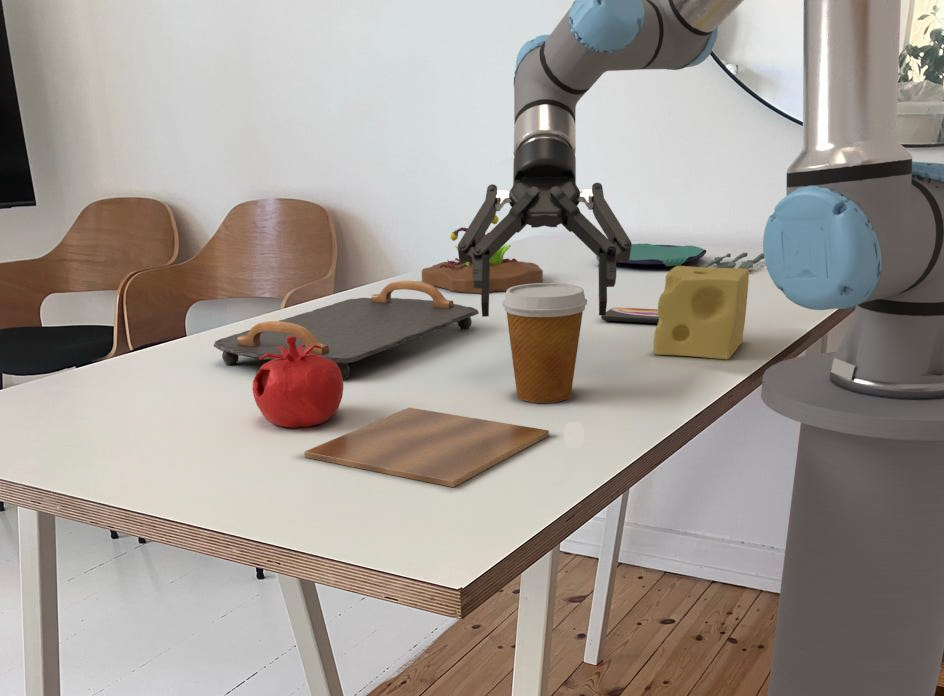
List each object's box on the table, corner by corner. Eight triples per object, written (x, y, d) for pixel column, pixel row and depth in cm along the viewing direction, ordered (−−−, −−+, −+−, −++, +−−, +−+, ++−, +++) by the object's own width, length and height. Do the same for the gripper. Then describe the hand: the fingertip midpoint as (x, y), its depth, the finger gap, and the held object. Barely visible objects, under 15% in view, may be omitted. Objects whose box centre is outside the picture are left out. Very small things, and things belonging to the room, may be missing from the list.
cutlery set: (622, 252, 220) (622, 240, 219) (770, 261, 207) (771, 248, 206) (581, 268, 205) (581, 255, 204) (738, 278, 192) (739, 264, 191)
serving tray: (364, 313, 173) (361, 272, 170) (493, 325, 162) (492, 282, 160) (196, 369, 144) (189, 320, 141) (340, 388, 133) (336, 336, 130)
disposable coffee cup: (593, 388, 130) (596, 283, 125) (573, 410, 122) (576, 299, 117) (516, 383, 133) (516, 280, 128) (492, 404, 125) (491, 296, 120)
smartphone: (612, 306, 168) (710, 311, 163) (612, 312, 169) (710, 317, 164) (599, 315, 162) (700, 320, 157) (599, 321, 162) (700, 327, 157)
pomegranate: (357, 408, 125) (351, 325, 121) (328, 434, 116) (321, 346, 112) (276, 405, 127) (267, 323, 123) (241, 430, 119) (231, 344, 114)
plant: (563, 282, 192) (564, 214, 187) (471, 297, 182) (470, 225, 177) (496, 268, 207) (495, 205, 202) (408, 281, 197) (405, 214, 192)
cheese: (652, 355, 144) (657, 276, 139) (670, 337, 153) (675, 262, 148) (732, 361, 140) (740, 280, 136) (746, 342, 149) (754, 265, 144)
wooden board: (549, 435, 114) (549, 430, 114) (453, 487, 101) (453, 481, 101) (409, 412, 123) (408, 407, 123) (304, 457, 110) (303, 451, 110)
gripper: (645, 176, 136) (649, 326, 129) (444, 180, 137) (438, 328, 131) (651, 132, 128) (656, 288, 122) (439, 136, 130) (433, 291, 124)
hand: (543, 309), depth 127 cm, fingers open, 13 cm apart
